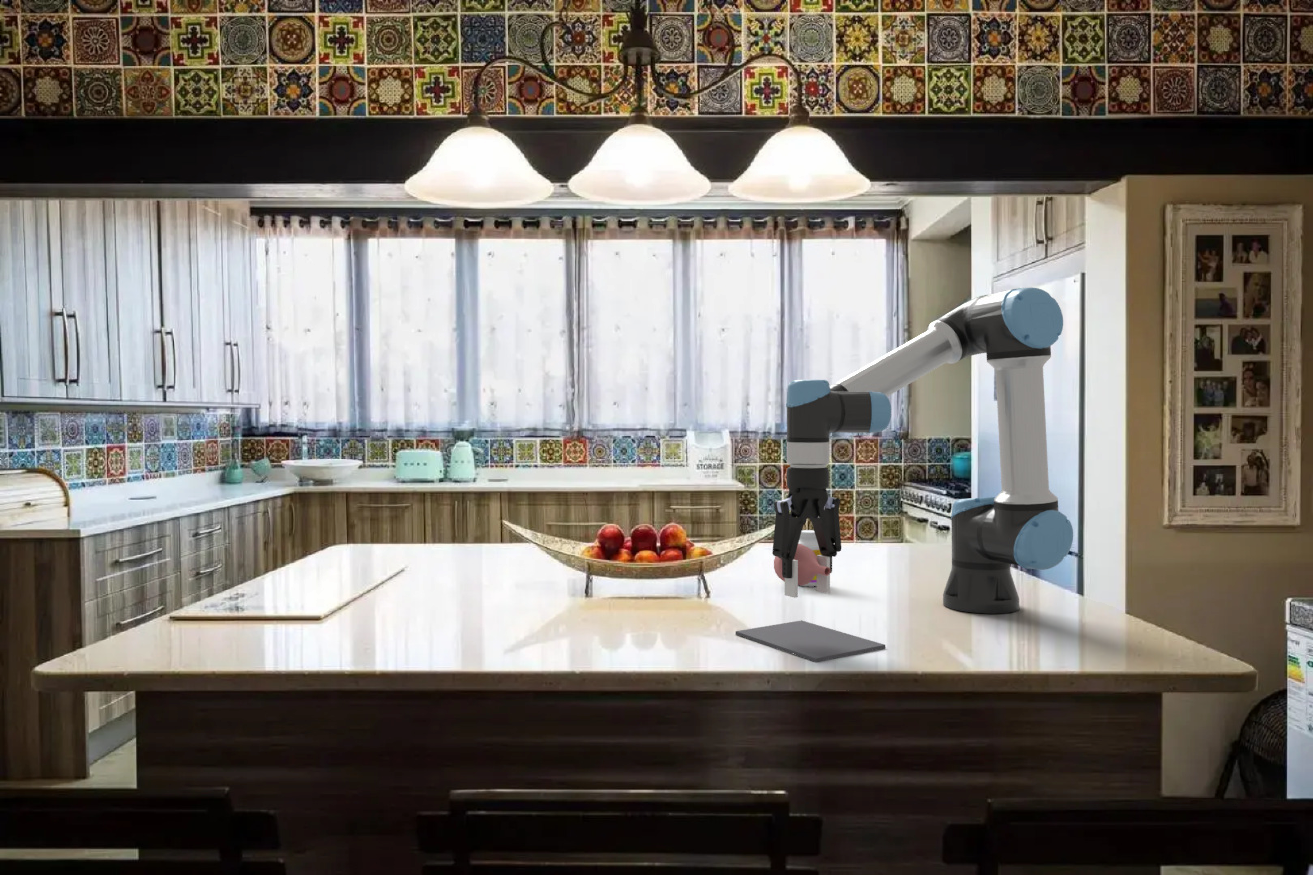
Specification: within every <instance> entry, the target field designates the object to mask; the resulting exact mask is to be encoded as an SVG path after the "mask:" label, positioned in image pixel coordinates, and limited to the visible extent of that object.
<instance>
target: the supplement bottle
mask: <svg viewBox="0 0 1313 875" xmlns="http://www.w3.org/2000/svg"><path fill="white" fill-rule="evenodd" d="M798 544H802V545H804V546H806V547H808V548H810V549H811V550H813V552H814V553H815V555H816V557H817V555H822V554H821V553H820V550H819V546H818V542H817V539H816V535H815V532H814V529H802V532H801V535H800V539H799V543H798ZM806 586H809V587H810V588H815V587H814V586H817V575H815V576H814V578H813V580H812V581H810V582H809V583H808V584H805V585H800V587H806Z"/></svg>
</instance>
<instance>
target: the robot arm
mask: <svg viewBox="0 0 1313 875" xmlns="http://www.w3.org/2000/svg"><path fill="white" fill-rule="evenodd" d="M1063 330H1064V317H1063V312H1062V308H1061V307H1060V305H1059V303H1058V302H1057V300H1056V299H1055V298H1054V297H1052V296H1051V294H1050V293H1049V292H1048V291H1045V290H1044V289H1042V288H1038V287H1018V288H1012V289H1008V290H1005V291H1001V292H995V293H991V294H984V295H979V296H978V297H977V296H976V297H974V298H973V299H970V300H968V301H966V302H964V303H963V304H961V305H959V306H957V307H956V308H954V309H952V310H950V311H949V312H947V313H946V314H944V315H942V316H941V317H939V318H937V319H936V320H934V321H932V322H931V323H929V325H928V326H927V330H926V331H925V332H923V333H921V334H919V335H918V336H915V337H914V338H912V339H910V340H908V341H907V342H905V343H904V344H902V345H900V346H898V347H896V348H895V349H893V350H891V351H889V352H887V353H886V354H883V355H882V356H880V357H879V358H877V359H875V360H874V361H872V362H870V363H868V364H867V365H864V366H863V367H861V368H860V369H858V370H855V371H854V372H852V373H851V374H849V375H847V376H846V377H843V378H841V379H840V380H839V381H837V382H835V383H833V384H832V385H830V382H829V381H828V380H826V379H795V380H792V381H790V382H789V383H788V385H787V392H786V404H785V407H786V463H787V464H788V465H789V466H788V467H787V469H786V486H787V488H788V494H787V496H786V498H785V499H782V500H778V499H777V500H775V501H774V502H773V506H774V511H775V521H774V528H773V529H774V531H773V539H772V540H773V543H772V555H773V556H774V557H775V556H777V557H778V558H781V559H782V576H783V577H784V578H785V582H784V596H787V597H790V598H793V599H795V598H796V599H797V598H798V597H799V587H798V586H799V585H798V560H793V559H794V557H795V553H796V550H797V546H798V543H799V541H800V535H801V532H802V530H803V529H804V528H803V527H804V525H805V524H806V523H807V521H808V520H809V521H810V522H811V524H812V527H813V530H814V532H815V535H816V539H817V542H818V546H819V550H820V553H821V554H822V555H817V561H818V563H819V565H820V566H825V567H829V568H830V570H831V572H830V574H829V575H828V576H826V575H821V574H817V587H816V592H821V593H825V594H829V593H831V574H832V573H833V557H836V556H838V552H841V551H842V538H841V525H840V511H839V510H840V505H841V499H840V498H839V497H833V496H829V495H828V492H827V488H829V487H830V469H829V467H827V465H829V464H830V434H831V433H852V434H853V433H857V434H858V433H860V434H861V433H867V434H871V433H881V432H883V431H885V430H886V429H887V428H888V426H889V424H890V422H891V418H892V405H891V402H890V398H888V397H889V396H891V395H893V394H894V393H896V392H898V391H899V390H902V389H903V388H905V387H906V386H908V385H909V384H912V383H914V382H916V381H917V380H918V379H920V378H922V377H924V376H925V375H928V374H929V373H931V372H932V371H934V370H937V369H938V368H939V367H941V366H943V365H944V364H950V365H953V364H955V363H958V362H959V361H961V360H963V359H965V358H968V357H971V356H976V355H980V354H986V363H988V364H989V365H990V366H991V367H992V368H993V369H994V371H995V384H996V385H995V386H996V388H995V389H996V403H997V406H996V407H997V424H998V426H997V428H998V443H999V447H998V448H999V464H1000V484H1001V486H1000V487H1001V490H1000V492H999V493H998V494H997V495H996V496H994V497H992V496H991V497H988V496H987V497H971V498H959V499H956V500H954V502H953V503H952V506H951V507H952V508H951V516H950V521H951V570H950V572H949V574H948V575H949V576H948V578H947V581H946V584H945V587H944V590H943V594H942V604H943V606H944V607H947V608H949V609H951V610H954V611H961V612H965V613H975V614H1009V613H1014V612H1017V611H1018V610H1019V609H1020V597H1019V593H1018V591H1017V587H1016V584H1015V581H1014V578H1013V576H1012V572H1011V565H1013V566H1018V567H1021V568H1023V569H1027V570H1032V569H1033V570H1038V571H1039V570H1041V571H1042V570H1043V571H1045V570H1049V569H1053V568H1054V567H1056V566H1058V565H1059V564H1060V563H1062V562H1063V559H1064V557H1067V556H1068V554H1069V553H1070V551H1071V548H1072V546H1073V542H1074V540H1073V539H1074V529H1073V528H1074V527H1073V524H1072V522H1071V520H1070V519H1068V517H1067V516H1066V515H1065V514H1063V513H1062V511H1059V500H1058V499H1059V498H1058V497H1057V496H1056V495H1055V494H1054V493H1053V492H1052V491H1051V490H1050V486H1049V485H1050V483H1049V464H1048V463H1049V462H1048V443H1047V426H1046V425H1047V422H1046V405H1045V404H1046V402H1045V385H1044V383H1045V382H1044V380H1045V379H1044V367H1045V364H1046V363H1047V362H1048V361H1049V360H1050V359H1051V358H1052V347H1051V346H1053V345H1054V344H1055V343H1056V342H1057V341H1058V340H1059V336H1061V335H1062V333H1063ZM788 551H789V553H788Z"/></svg>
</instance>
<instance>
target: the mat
mask: <svg viewBox="0 0 1313 875" xmlns="http://www.w3.org/2000/svg"><path fill="white" fill-rule="evenodd" d="M735 635H736V636H738V637H742V636H744V637H746V638H745V639H747V638H748V640H750V639H751V641H753V640H755V641H754V642H756V641H757V643H760V644H762V645H765V644H766V645H765V646H768V645H769V647H771V648H774V649H776V648H778V649H777V650H779V649H780V651H782V650H783V651H782V652H785V653H788V654H791V653H794V654H796V655H795V656H797V655H798V656H797V657H800V656H801V657H800V658H803V657H805V658H807V659H806V660H808V659H809V661H811V660H812V662H814V661H815V662H814V663H817V661H818V662H823V661H827V660H832V659H837V658H842V657H848V656H854V655H858V654H863V653H868V652H873V651H878V650H883V649H886V644H884V643H881V642H877V641H873V640H870V639H867V638H863V637H860V636H857V635H853V634H849V633H846V632H843V631H839V630H836V629H832V628H830V627H827V626H826V627H825V626H822V625H819V624H815V623H813V622H808V621H805V620H802V619H800V620H795V621H791V622H790V621H789V622H783V623H778V624H771V625H766V626H759V627H758V626H757V627H754V628H747V629H741V630H736V631H735ZM744 637H743V638H744ZM794 654H793V655H794ZM805 658H804V659H805Z"/></svg>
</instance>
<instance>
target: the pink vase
mask: <svg viewBox="0 0 1313 875" xmlns="http://www.w3.org/2000/svg"><path fill="white" fill-rule="evenodd" d="M788 553H789V551H788ZM793 560H798V586H799V585H805V584H808V583H809V582H810V581H812V580H813V578H814V576H815V575H817V574H821V575H826V576H828V575H829V574H830V575H831V573H830V572H831V570H830V568H829V567H825V566H820V565H819V563H818V561H817V557H816V555H815V553H814V552H813V550H811V549H810V548H808V547H806V546H804V545H802V544H798V546H797V550H796V553H795V557H794V559H793ZM773 569H774V572H775V574H776V576H777V577H778V578H779V579H780V580H782V582H784V583H785V578H784V577H783V576H782V559H781V558H778V557H777V556H774V559H773Z"/></svg>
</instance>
